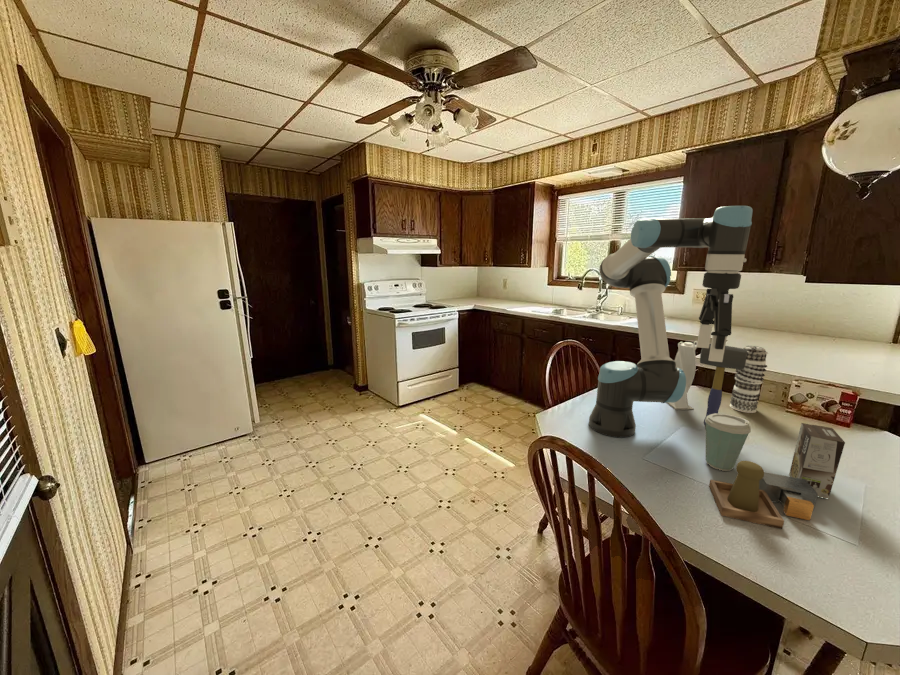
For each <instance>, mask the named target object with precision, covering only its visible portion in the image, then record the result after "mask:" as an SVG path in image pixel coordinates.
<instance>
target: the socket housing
mask: <svg viewBox="0 0 900 675" xmlns="http://www.w3.org/2000/svg"><path fill="white" fill-rule="evenodd" d="M759 489H760V490H764V491H765V492H766V493H767V495H768V496H769V498H770V499H771V501H773V503H777V502H778V503H779V502H780V501H779V497H780V493H781V489H784V490H789V491H794V492H798V494H799V495H800V496H801V498H802V499H803V500H807V501H811V502H812V504H813V505H814V508H813V509H815V506H816V503H817V502H816V501H817V498H818V497H817V495H818V494H817V492H816V491H815V490H814V489H813V488H812V486H811V485H810V484H809V483H808V482H807V481H806V480H805V479H799V478H794V477H790V476H789V475H788V476H787V475H782V474H776V473H771V472H766V471H764V477H763V478H762V479H761V480H759Z"/></svg>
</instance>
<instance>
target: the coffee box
mask: <svg viewBox="0 0 900 675" xmlns="http://www.w3.org/2000/svg"><path fill="white" fill-rule="evenodd" d="M845 444H846V442H845V441H844V439H843V438H842V437H841V436H840V435H839V434H838V433H837V431H836V430H835V429H834V428H833V427H829V426H822V425H816V424H810V423H809V424H808V423H804V422H801V424H800V428H799V430H798V436H797V439H796V444H795V448H794V452H793V456H792V461H791V464H790V469H789V472H788V477H794V478H799V479H805V480H806V481H807V482H808V483H809V484H810V485H811V486H812V488H813V489H814V490H815V491H816V492H817V494H818V495H817V496H819V497H823V498H828V500H829V498H830V495H831V492H832V489H833V485H834V482H835V478H836V474H837V472H838V471H837V470H838V469H839V468H838V467H839V464H840V462H841V458H842V454H843V451H844V448H845ZM819 497H818V498H819ZM823 498H822V499H823Z"/></svg>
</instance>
